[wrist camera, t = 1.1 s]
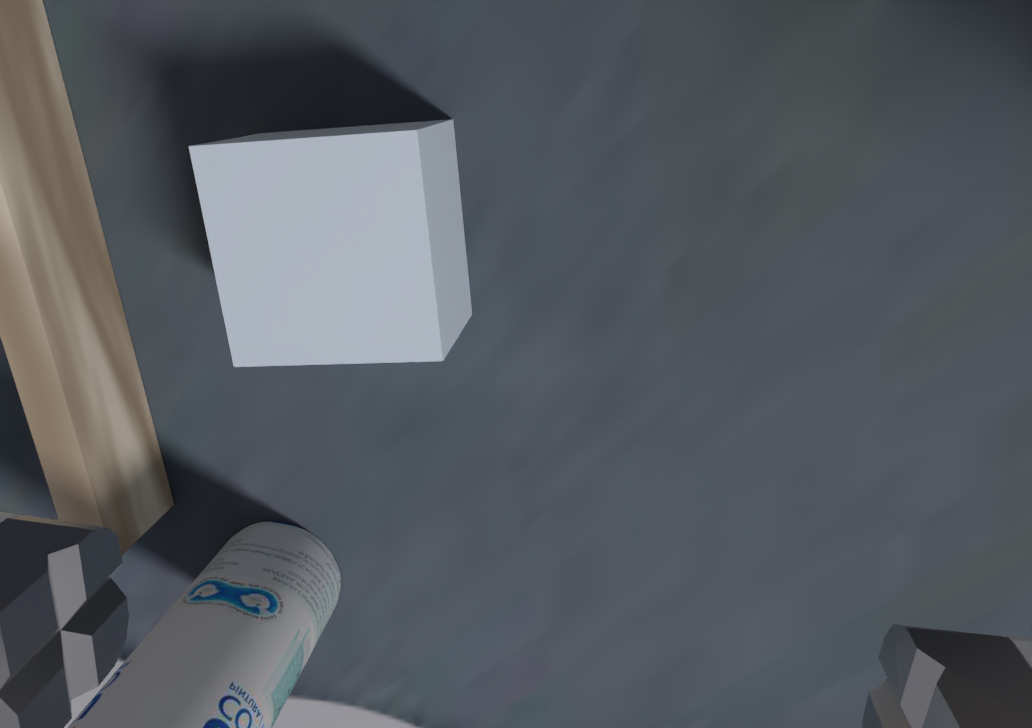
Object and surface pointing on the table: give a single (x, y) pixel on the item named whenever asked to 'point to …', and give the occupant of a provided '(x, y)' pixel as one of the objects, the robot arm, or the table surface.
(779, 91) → the table surface
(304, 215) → the block
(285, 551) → the spray paint can
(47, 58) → the board
